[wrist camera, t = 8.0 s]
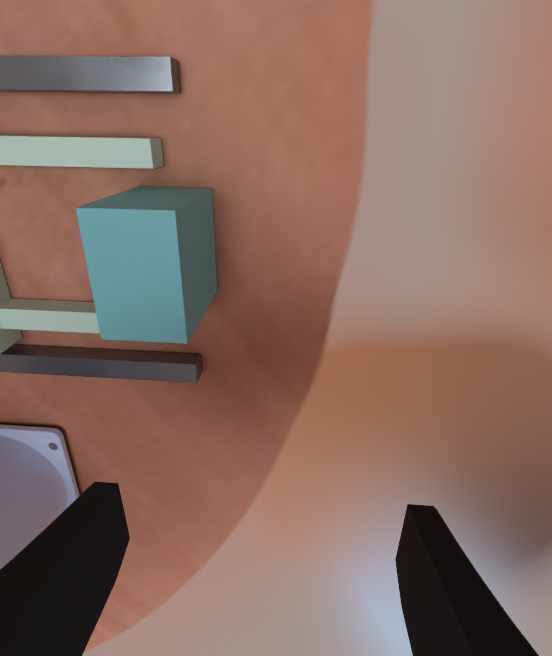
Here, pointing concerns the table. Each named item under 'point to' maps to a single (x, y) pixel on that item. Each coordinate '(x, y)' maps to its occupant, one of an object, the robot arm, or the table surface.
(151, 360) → the lane rails
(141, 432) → the table surface
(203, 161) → the table surface
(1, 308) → the two-compartment tray
